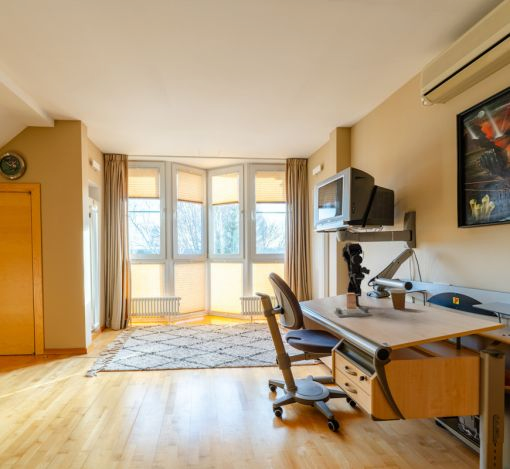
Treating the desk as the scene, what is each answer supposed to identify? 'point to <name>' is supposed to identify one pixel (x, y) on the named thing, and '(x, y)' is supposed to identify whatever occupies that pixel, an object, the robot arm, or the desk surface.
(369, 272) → the robot arm
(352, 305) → the peg
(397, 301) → the disposable coffee cup
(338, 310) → the socket plate
